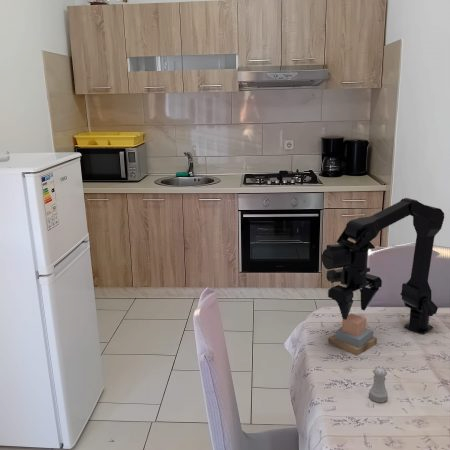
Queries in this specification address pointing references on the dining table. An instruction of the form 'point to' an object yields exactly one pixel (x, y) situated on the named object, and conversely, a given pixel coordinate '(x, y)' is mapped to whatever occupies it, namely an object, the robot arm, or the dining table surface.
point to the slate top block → (354, 337)
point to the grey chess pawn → (379, 385)
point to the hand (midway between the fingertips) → (354, 314)
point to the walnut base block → (352, 348)
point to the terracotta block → (354, 324)
